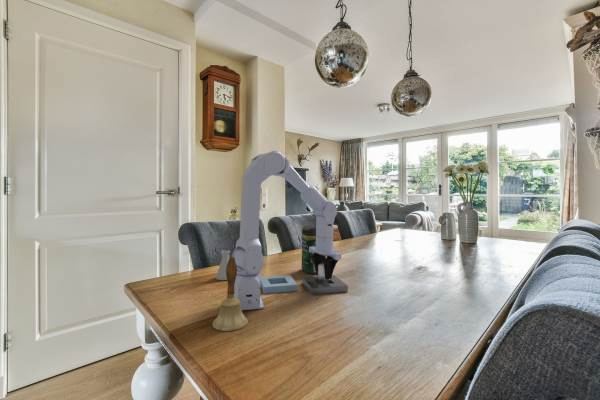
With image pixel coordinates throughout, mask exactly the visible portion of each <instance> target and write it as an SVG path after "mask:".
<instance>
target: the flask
mask: <svg viewBox="0 0 600 400" xmlns="http://www.w3.org/2000/svg"><path fill="white" fill-rule="evenodd" d="M220 253H221V261H220V264H219V268H218V270H217V273H216V275H215V280H217V281H227V277H226V267H227V263H228V261H229V257H230V253H231V250H221V252H220Z"/></svg>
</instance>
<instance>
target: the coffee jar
mask: <svg viewBox="0 0 600 400" xmlns="http://www.w3.org/2000/svg"><path fill="white" fill-rule="evenodd" d="M312 246H314V247H316V225H313V224H309V225H304V226H303V227H302V228H301V270H302V271H303V272H304V273H306V274H314V275H315V274H316V270H315V266H314V263H313V261H312V259H311V257H310V256H311V255H313V254H314V253H313V252H312V253H310V252H309V247H312ZM316 275H317V274H316Z"/></svg>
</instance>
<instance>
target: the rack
mask: <svg viewBox="0 0 600 400" xmlns="http://www.w3.org/2000/svg"><path fill="white" fill-rule="evenodd" d="M298 287H299V285H298V283H297V282H296V281H295V280H294V278H293V277H292V276H291V274H290V275H273V276H271V275H270V276H260V289H261V290H262V293H263V294H274V293H275V294H276V293H288V292H298V291H299V290H298V289H299V288H298Z"/></svg>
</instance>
